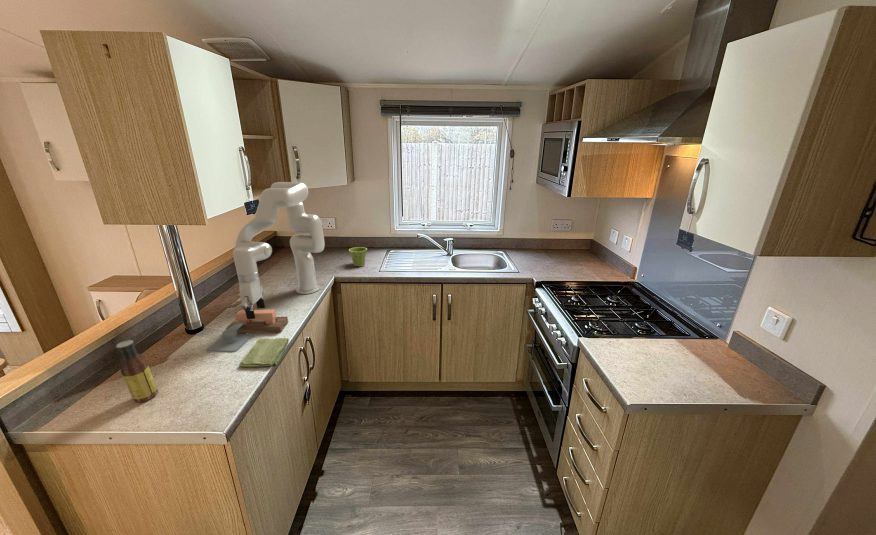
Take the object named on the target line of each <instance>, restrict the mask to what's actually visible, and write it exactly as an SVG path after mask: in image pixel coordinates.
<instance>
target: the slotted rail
mask: <svg viewBox="0 0 876 535" xmlns="http://www.w3.org/2000/svg"><path fill="white" fill-rule="evenodd" d="M275 319H276V322H275V323H274V324H266V322H265V320H250V323H249V324H248V325H242V326H241V327H240V328H239V329H238V330H237V334H246V333H257V334H277V333H278V334H279V333H282V332H283V330H284V329H285V328H286V326H287V325H288V324H289V319H288V316H275ZM237 322H239V321H237V319H236V318H235V319H234V320H233V321H232V322H231V323H229V325H228V326H226V328H225V330H227V329H228V328H230V327H231V326H233V325H234V324H236V323H237Z"/></svg>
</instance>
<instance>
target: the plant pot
mask: <svg viewBox="0 0 876 535" xmlns="http://www.w3.org/2000/svg"><path fill="white" fill-rule="evenodd" d="M367 250H368V248H367V247H363V246H359V247H358V246H357V247H351V248H349V249H348V251H349V254H350V256H351V260H352V265H353V267H355V266H356V267H357V266H362V267H364V266H365V264H366V255H367Z"/></svg>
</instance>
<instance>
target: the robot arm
mask: <svg viewBox="0 0 876 535" xmlns="http://www.w3.org/2000/svg"><path fill="white" fill-rule="evenodd" d="M308 196H309V188H308V186H307V185H306V184H305V183H303V182H299V181H297V182H296V181H293V182H292V181H291V182H290V181H277V182H274V183H272V184H271V185H270V187H269V188H266V189H264V190H262V192H261V195H260V198H259V202H258V205H257V209H256V213H255V215H254V217H253V218H252V219H251V220H250V221H248V223H246V224H245V225H244V226H243V227H242V228H241V230H240V231H239V233H238V235H237V238H236V241H235V245H234V249H233V250H232V257H233V260H234V265H235V266H234V267H235V270H236V271H235V272H236V274H237V279H238V282H239V283H238V285H239V286H238V287H239V288H238V289H239V296H240V297H239V299H240V303H241V307H242V310H244V311H245V312H246V317H247V319H255V314H254V310H255V309H254V305H255V304H256V308H257V309H265V308H266V306H265V305H266V304H265V300H264V299H265V297H264V292H263V291H264V288H263V287H262V285H261V281H260V275H259V270H258V265H257V262H259V261H264V260H266V259H267V260H268V258H270V257H271V255H272V253H273V248H272V246H271V244H269V243H267V242H263V241H252V240H253V238H254V237H255V236H256V235H257V234H258V233H260V232H262V231H264V230H267V229H270V228H271V227H273V226H275V225H276V223H277V220H278V216H279V212H280V209H281V208H285V211H286V214H287V220H288V225H289V228H290V230H291V231H292V232H294V233H296V234H294V235H292V236H291V237H290V239H289V246H290V249H291V251H292V255H293V259H294V264H295V272H296V279H297V284H298V286H297V287H296V288H295V291H296V293H297V294H300V295H307V294H313V293H316V292H318V291H320V290H321V285H320V284H318V283H317V276H316V275H317V274H316V269H315V268H316V267H315V260H314V257H313V255H312V254H311V253H314V254H317V253H321V252H323V251H324V250H325V243H326V242H325V236H324V230H323V224H322V221H321V218H320V217H319V216H318V215H317V214H312V213H309V214H307V213H306V210H305V206H304V203H303V202H304V201H306V200H307V198H308Z"/></svg>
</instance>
